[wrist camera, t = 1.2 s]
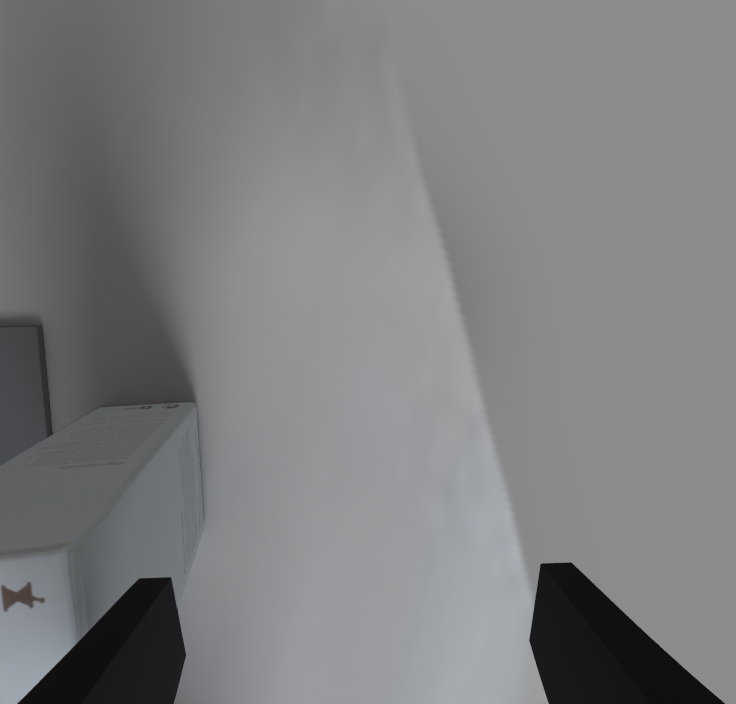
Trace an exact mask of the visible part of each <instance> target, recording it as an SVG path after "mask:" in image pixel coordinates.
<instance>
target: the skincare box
mask: <svg viewBox="0 0 736 704" xmlns="http://www.w3.org/2000/svg"><path fill="white" fill-rule="evenodd" d="M203 530H204V515H203V499H202V484H201V469H200V454H199V440H198V424H197V410H196V404H195V403H194V402H182V403H162V404H145V405H128V406H113V407H101V408H97V409H95V410H93V411H92V412H90V413H89V414H87V415H85V416H84V417H82V418H80V419H79V420H77V421H75V422H73V423H71V424H70V425H68V426H66V427H64V428H63V429H61V430H60V431H58V432H56V433H55V434H53V435H51V436H50V437H48V438H46V439H45V440H43V441H41V442H39V443H38V444H36V445H34V446H32V447H31V448H29V449H27V450H26V451H24V452H22V453H20V454H19V455H17V456H16V457H14V458H12V459H10V460H9V461H7V462H5V463H4V464H2V465H0V704H17V703H18V702H19V701H20V700H21V699H22V698H23V697H24V696H25V695H26V694H27V693H28V692H29V691H30V690H31V689H32V688H33V687H34V686H35V685H36V684H37V683H38V682H39V681H40V680H41V679H42V678H43V677H44V676H45V675H46V674H47V673H48V672H49V671H50V670H51V669H52V668H53V667H54V666H55V665H56V664H57V663H58V662H59V661H60V660H61V659H62V658H63V657H64V656H65V655H66V654H67V653H68V652H69V651H70V650H71V649H72V648H73V647H74V646H75V645H76V644H77V642H78V641H79V640H80V639H81V638H82V637H83V636H84V635H85V634H86V633H87V632H88V631H89V630H90V629H91V628H92V627H93V626H94V625H95V624H96V623H97V622H98V621H99V619H100V618H101V617H102V616H103V615H104V614H105V613H106V612H107V611H108V610H109V609H110V608H111V607H112V606H113V605H114V604H115V603H116V602H117V600H118V599H119V598H120V597H121V596H122V595H123V594H124V593H125V592H126V591H127V590H128V589H129V588H130V587H131V586H132V585H133V584H134V583H135V582H136V581H137V580H138V579H139V578H162V577H171V578H172V584H173V589H174V594H175V600H176V605H177V607H178V604H179V601H180V598H181V595H182V592H183V589H184V586H185V583H186V580H187V577H188V574H189V571H190V568H191V565H192V563H193V560H194V557H195V554H196V551H197V548H198V545H199V542H200V539H201V536H202V533H203Z"/></svg>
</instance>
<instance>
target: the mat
mask: <svg viewBox="0 0 736 704" xmlns="http://www.w3.org/2000/svg"><path fill="white" fill-rule="evenodd" d="M51 435H52V427H51V417H50V406H49V396H48V385H47V375H46V364H45V354H44V343H43V333H42V326H29V327H0V465H2V464H4V463H5V462H7V461H9V460H10V459H12V458H14V457H16V456H17V455H19V454H20V453H22V452H24V451H26V450H27V449H29V448H31V447H32V446H34V445H36V444H38V443H39V442H41V441H43V440H45V439H46V438H48V437H50V436H51Z"/></svg>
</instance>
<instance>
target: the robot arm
mask: <svg viewBox="0 0 736 704" xmlns="http://www.w3.org/2000/svg"><path fill="white" fill-rule="evenodd" d="M529 641H530V644H531V648H532V651H533V654H534V658H535V661H536V665H537V668H538V671H539V675H540V678H541V681H542V684H543V687H544V690H545V693H546V696H547V700H548V702H549V704H725V703H723V702H722V701H721V700H720V699H719V698H718V697H717V696H715V695H714V694H713V693H712V692H711V691H709V690H708V689H707V688H706V687H705V686H704V685H703V684H701V683H700V682H699V681H698V680H697V679H696V678H695V677H693V676H692V675H691V674H690V673H689V672H688V671H687V670H685V669H684V668H683V667H682V666H681V665H680V664H679V663H678V662H677V661H675V660H674V659H673V658H672V657H671V656H670V655H669V654H668V653H667V652H665V651H664V650H663V649H662V648H661V647H660V646H659V645H658V644H657V643H656V642H655V641H653V640H652V639H651V638H650V637H649V636H648V635H647V634H646V633H645V632H644V631H643V630H642V629H641V628H639V627H638V626H637V625H636V624H635V623H634V622H633V621H632V620H631V619H630V618H629V617H628V616H627V615H626V614H625V613H624V612H623V611H621V610H620V609H619V608H618V607H617V606H616V605H615V604H614V603H613V602H612V601H611V600H610V599H609V598H608V597H607V596H606V595H605V594H604V593H603V592H602V591H601V590H600V589H598V588H597V587H596V586H595V585H594V584H593V583H592V582H591V581H590V580H589V579H588V578H587V577H586V576H585V575H584V574H583V573H582V572H581V571H580V570H579V569H578V568H576V567H575V566H574V565H573V564H572V563H547V564H541V565H540V572H539V580H538V586H537V592H536V599H535V606H534V613H533V620H532V626H531V633H530V640H529ZM185 657H186V653H185V648H184V642H183V637H182V632H181V626H180V621H179V616H178V610H177V605H176V600H175V594H174V589H173V584H172V578H171V577H162V578H139V579H138V580H137V581H136V582H135V583H134V584H133V585H132V586H131V587H130V588H129V589H128V590H127V591H126V592H125V593H124V594H123V595H122V596H121V597H120V598H119V599H118V600H117V602H116V603H115V604H114V605H113V606H112V607H111V608H110V609H109V610H108V611H107V612H106V613H105V614H104V615H103V616H102V617H101V618H100V619H99V621H98V622H97V623H96V624H95V625H94V626H93V627H92V628H91V629H90V630H89V631H88V632H87V633H86V634H85V635H84V636H83V637H82V638H81V639H80V640H79V641H78V642H77V644H76V645H75V646H74V647H73V648H72V649H71V650H70V651H69V652H68V653H67V654H66V655H65V656H64V657H63V658H62V659H61V660H60V661H59V662H58V663H57V664H56V665H55V666H54V667H53V668H52V669H51V670H50V671H49V672H48V673H47V674H46V675H45V676H44V677H43V678H42V679H41V680H40V681H39V682H38V683H37V684H36V685H35V686H34V687H33V688H32V689H31V690H30V691H29V692H28V693H27V694H26V695H25V696H24V697H23V698H22V699H21V700H20V701H19V702H18V703H17V704H174V700H175V696H176V693H177V689H178V685H179V681H180V677H181V673H182V669H183V665H184V661H185Z"/></svg>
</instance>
